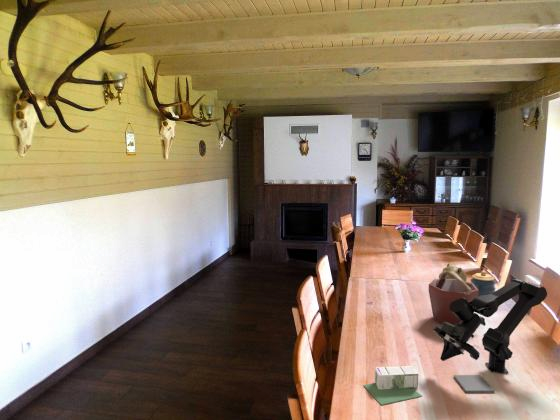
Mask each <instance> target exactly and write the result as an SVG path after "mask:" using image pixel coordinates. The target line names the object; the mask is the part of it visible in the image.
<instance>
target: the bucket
mask: <svg viewBox="0 0 560 420" xmlns="http://www.w3.org/2000/svg"><path fill="white" fill-rule="evenodd" d="M441 273H442V272H441ZM448 274H451V275H452V276H453V277H454V278H455V279H446V276H447V275H448ZM428 295H429V302H430V305H431V306H430V308H431V313H432V317H433V318H432V319H433V321H435V322H437V323H438V324H440V325H441V326H442V324H443V322H447V323H450V324H452V325H454V324H455V323H460V322H461V320H460V319H458V318H457V316H456V315H455V314H454V313H453V312H452V311H451V310H450V308H449V307H450V304H451V302H453V301H455V300H457V299H460V298H461V297H463V298H465V299H466V300H467V301H471V300H473V299H474V298H476V297H478V296H479V290H478V288H477V287H476V286H475V285H474V284H473V283H471V282H469V281H466V282H465V281H463V280H462V279H461V278H460V277H459V276H458V275H457V274H456V273H455V272H453V271H451V272H444V273H442V274H441V276H440V279H439V278H434V279H433V280H432V281H431V282H429V283H428Z"/></svg>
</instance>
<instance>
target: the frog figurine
mask: <svg viewBox="0 0 560 420" xmlns="http://www.w3.org/2000/svg"><path fill="white" fill-rule="evenodd" d="M451 271H453V272H455V273H456V274H457V275H458V276H459V277H460V278H461V279H462V280H463V281H465V282H467V279H468V277H467V273H466V272H465V271H464V270H463V269H462V267H457V266H454V265H451V264H450V263H447V265H446V266H445V267H443V268H442V272H440V273H439V275H438V279H440V276H441V274H442V273H444V272H451ZM446 279H455V278H454V277H453V276H452V275H451V274H448V275H447V276H446Z"/></svg>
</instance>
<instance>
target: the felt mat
mask: <svg viewBox="0 0 560 420" xmlns="http://www.w3.org/2000/svg"><path fill="white" fill-rule="evenodd" d="M363 387H364V388H365V389H366V391H368V392H369V394H371V396H372V397H373V398H374V399H375V400H376V401H377V402H378V404H379V405H380V406H385V405H391V404H394V403H398V402H403V401H407V400H412V399H417V398H420V397H422V395H423V394H421V393H420V392H418V391H417V390H416V388H404V389H382V390H380V389H378V387H377V385H376V383H375V382H373V383H368V384H364V385H363Z"/></svg>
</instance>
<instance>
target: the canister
mask: <svg viewBox="0 0 560 420" xmlns="http://www.w3.org/2000/svg"><path fill="white" fill-rule="evenodd" d="M469 280H470V283H473V284H474V285H475V286H476V287H477V288H478V290H479V296H482V295H489V294H492V293H493V292H495V291H496V289H497V288H496V287H495V286H496V284H497V282H496V281H495V277H494V276H492V275H491V274H489V273H487V272H486V271H485V270H482V271H481V272H476V273H474V274H472V277H471V278H470V279H469ZM479 296H478V297H479Z"/></svg>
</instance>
